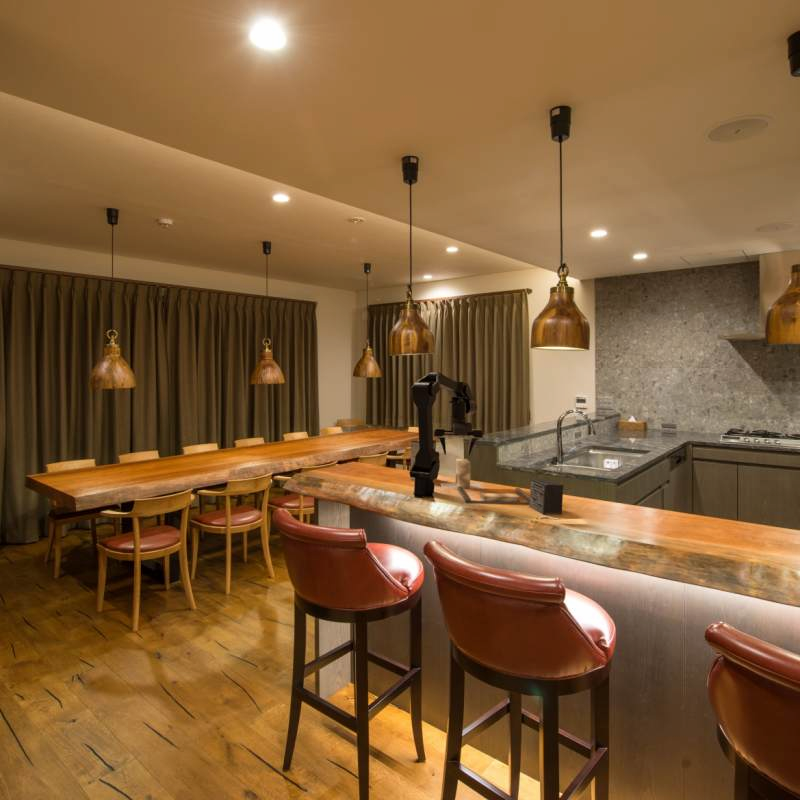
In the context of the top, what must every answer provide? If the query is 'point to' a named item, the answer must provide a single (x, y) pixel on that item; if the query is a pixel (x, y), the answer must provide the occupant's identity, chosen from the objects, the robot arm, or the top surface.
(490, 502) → the rack
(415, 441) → the coffee box
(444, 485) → the mat
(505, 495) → the upper offcut
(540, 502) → the small box
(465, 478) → the tan brown block
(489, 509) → the top surface
